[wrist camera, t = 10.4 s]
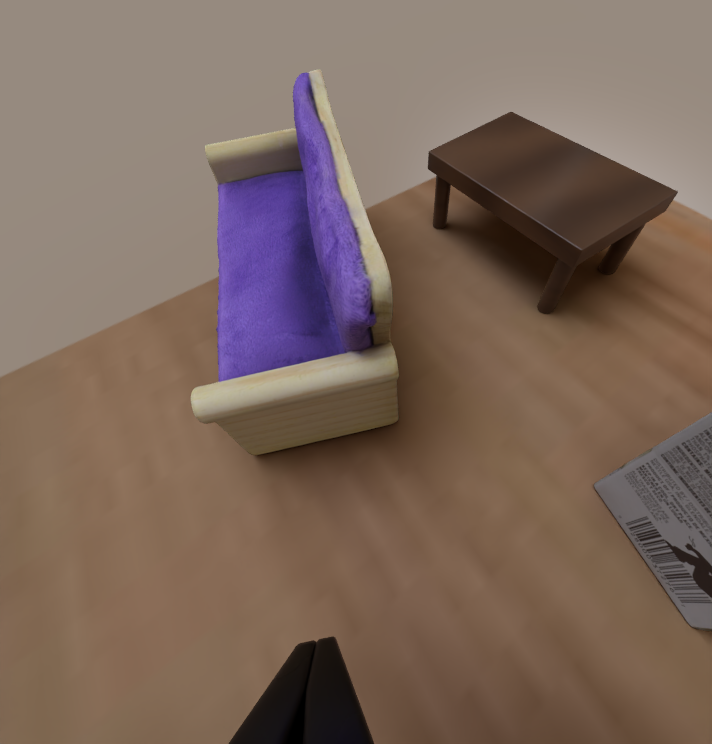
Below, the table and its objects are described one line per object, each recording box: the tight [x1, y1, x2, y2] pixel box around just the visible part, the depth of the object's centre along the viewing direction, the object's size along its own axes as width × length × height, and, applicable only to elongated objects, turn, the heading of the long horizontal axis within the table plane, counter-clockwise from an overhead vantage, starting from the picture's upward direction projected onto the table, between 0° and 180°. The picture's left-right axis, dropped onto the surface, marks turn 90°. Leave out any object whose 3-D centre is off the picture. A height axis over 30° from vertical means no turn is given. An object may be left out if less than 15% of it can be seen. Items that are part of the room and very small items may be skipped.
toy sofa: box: [191, 69, 399, 455], centre depth 21 cm, size 21×9×10 cm, turn 11°
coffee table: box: [428, 112, 678, 313], centre depth 24 cm, size 12×7×6 cm, turn 32°
